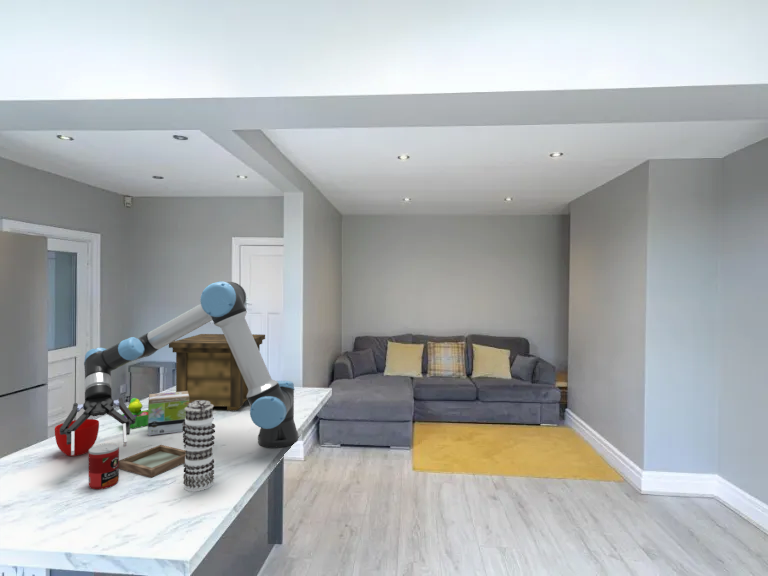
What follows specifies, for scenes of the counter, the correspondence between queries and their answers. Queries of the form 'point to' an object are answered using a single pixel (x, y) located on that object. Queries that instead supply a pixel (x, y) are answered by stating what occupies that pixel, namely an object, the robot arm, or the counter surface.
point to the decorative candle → (198, 446)
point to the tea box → (167, 412)
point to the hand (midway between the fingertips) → (99, 448)
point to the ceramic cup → (78, 437)
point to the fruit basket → (138, 413)
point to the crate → (210, 370)
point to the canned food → (103, 465)
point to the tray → (153, 461)
